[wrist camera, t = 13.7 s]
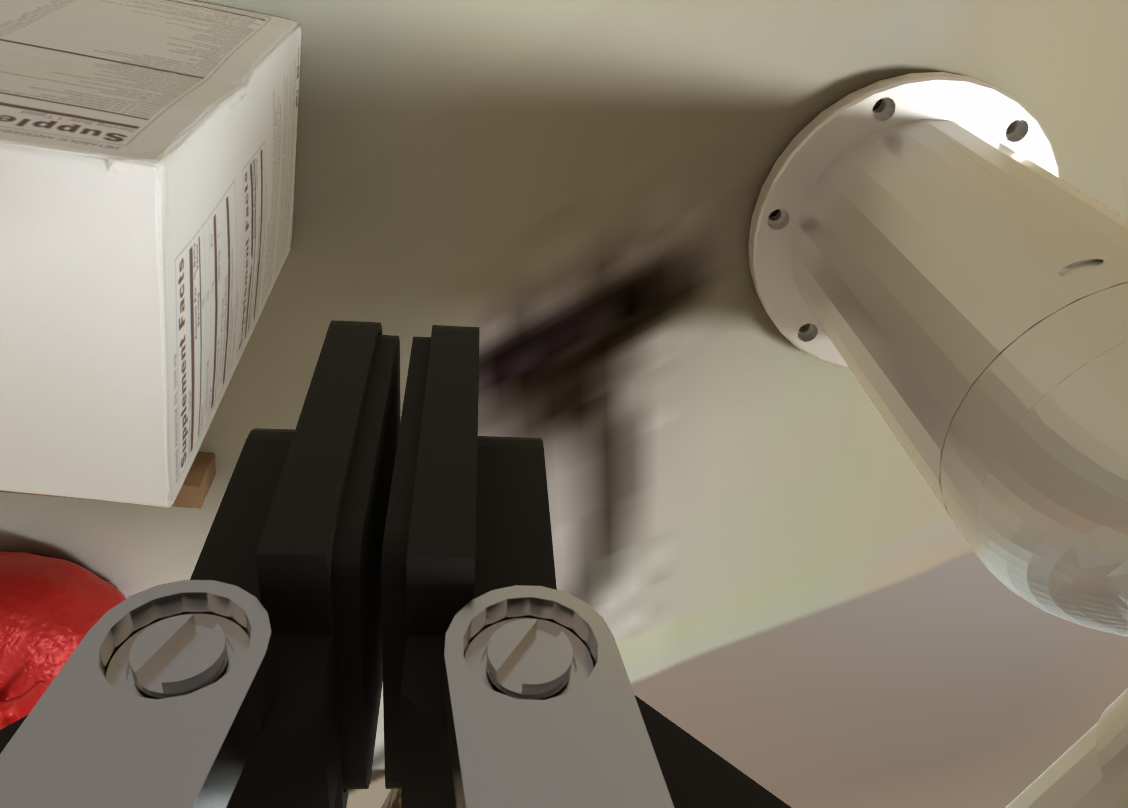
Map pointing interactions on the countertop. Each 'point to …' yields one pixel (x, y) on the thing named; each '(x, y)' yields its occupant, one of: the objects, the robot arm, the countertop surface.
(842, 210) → the robot arm
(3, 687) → the red tomato
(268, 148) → the supplement box
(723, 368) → the countertop surface
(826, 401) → the countertop surface
